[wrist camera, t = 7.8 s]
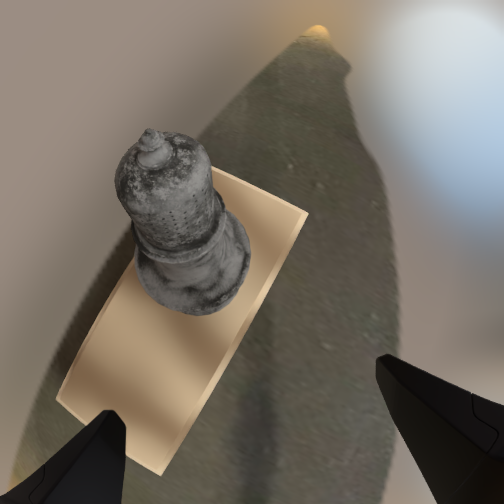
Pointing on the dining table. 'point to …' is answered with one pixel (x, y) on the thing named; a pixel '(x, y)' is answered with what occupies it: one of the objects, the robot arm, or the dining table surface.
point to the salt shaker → (181, 225)
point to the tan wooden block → (175, 338)
